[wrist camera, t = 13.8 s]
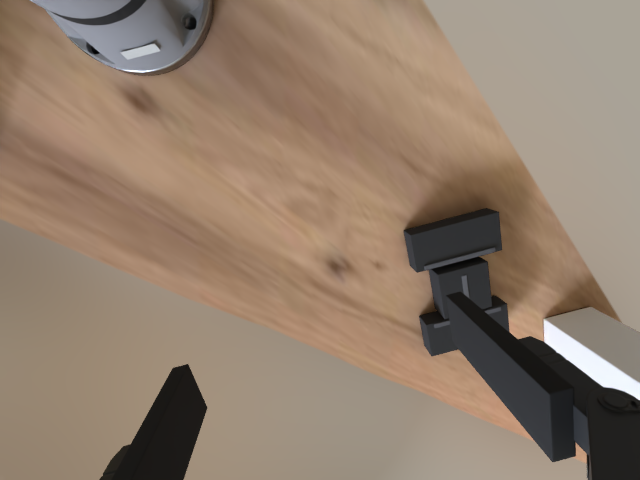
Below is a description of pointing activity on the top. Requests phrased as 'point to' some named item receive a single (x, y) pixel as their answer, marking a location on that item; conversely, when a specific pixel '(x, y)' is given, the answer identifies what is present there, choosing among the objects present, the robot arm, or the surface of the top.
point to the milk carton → (597, 347)
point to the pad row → (450, 247)
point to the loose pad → (461, 283)
